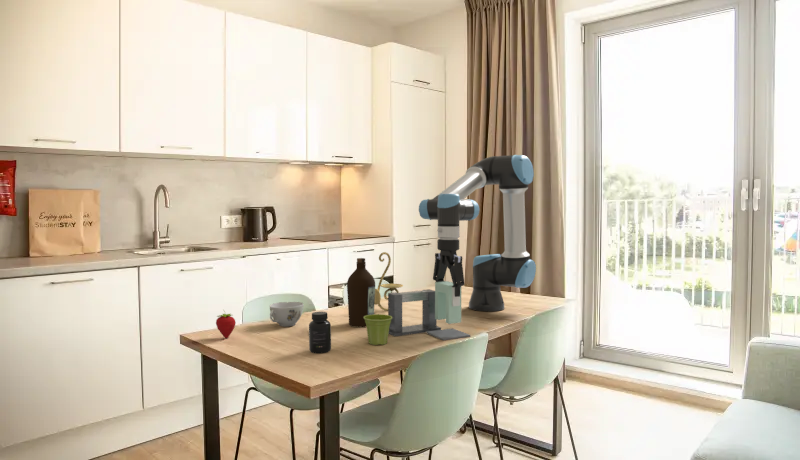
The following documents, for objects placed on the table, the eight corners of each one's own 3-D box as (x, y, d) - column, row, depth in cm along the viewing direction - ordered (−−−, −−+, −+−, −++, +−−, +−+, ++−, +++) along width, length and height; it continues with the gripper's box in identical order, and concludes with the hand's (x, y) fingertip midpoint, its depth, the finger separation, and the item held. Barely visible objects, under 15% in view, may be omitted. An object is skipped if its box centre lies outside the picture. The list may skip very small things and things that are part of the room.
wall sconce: (382, 315, 228) (381, 253, 227) (367, 311, 235) (367, 252, 234) (407, 310, 237) (407, 251, 236) (393, 307, 244) (393, 250, 243)
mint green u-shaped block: (446, 317, 199) (447, 281, 199) (461, 322, 192) (461, 284, 191) (434, 318, 197) (435, 282, 196) (448, 323, 189) (449, 285, 188)
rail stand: (429, 325, 209) (429, 288, 208) (441, 330, 202) (441, 291, 201) (383, 331, 200) (383, 292, 199) (394, 336, 193) (393, 296, 192)
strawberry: (224, 341, 186) (223, 312, 186) (212, 338, 191) (211, 309, 191) (239, 338, 191) (239, 309, 190) (227, 334, 196) (227, 306, 195)
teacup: (286, 320, 219) (286, 299, 219) (310, 323, 213) (310, 302, 212) (257, 327, 207) (257, 306, 206) (282, 331, 200) (282, 309, 200)
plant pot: (373, 338, 191) (373, 312, 190) (397, 341, 186) (397, 315, 186) (358, 344, 183) (357, 318, 182) (382, 348, 178) (382, 321, 178)
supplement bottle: (309, 348, 178) (309, 310, 178) (331, 347, 179) (331, 310, 178) (308, 354, 172) (307, 315, 171) (330, 353, 172) (330, 314, 171)
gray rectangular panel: (452, 329, 202) (452, 328, 202) (470, 336, 192) (470, 334, 192) (426, 333, 197) (426, 331, 197) (443, 340, 187) (443, 338, 187)
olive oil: (343, 326, 207) (342, 259, 206) (352, 320, 218) (352, 256, 216) (370, 328, 205) (370, 260, 203) (378, 322, 215) (378, 257, 214)
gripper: (423, 237, 201) (422, 299, 202) (456, 241, 181) (456, 310, 183) (440, 236, 204) (440, 297, 205) (475, 240, 185) (475, 307, 186)
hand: (448, 303), depth 194 cm, fingers closed on mint green u-shaped block, 9 cm apart
